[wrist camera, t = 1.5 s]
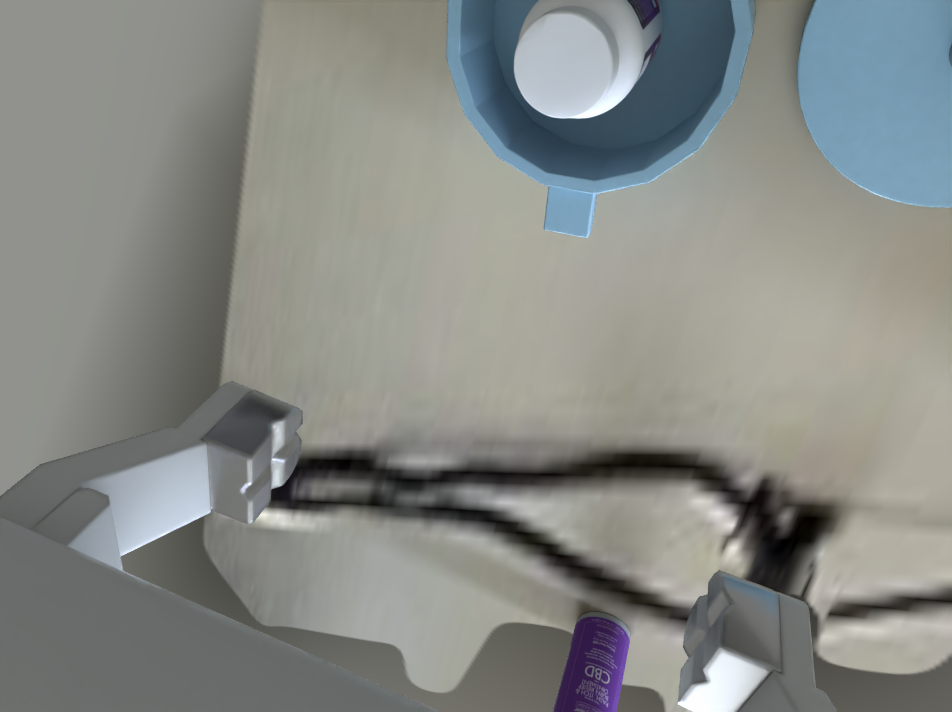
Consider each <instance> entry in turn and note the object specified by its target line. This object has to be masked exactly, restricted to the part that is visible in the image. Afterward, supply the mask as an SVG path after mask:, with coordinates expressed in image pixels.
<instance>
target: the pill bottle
mask: <svg viewBox="0 0 952 712" xmlns="http://www.w3.org/2000/svg"><path fill="white" fill-rule="evenodd" d="M662 29H663V16H662V10H661V6H660V3H659V0H539V1H538V2H537V3H536V4H535V5H534V6H533V8H532V9H531V10H530V12H529V14H528V15H527V17H526V19H525V21H524V23H523V26H522V28H521V31H520V35H519V40H518V44H517V47H516V50H515V55H514V74H515V79H516V82H517V85H518V88H519V90H520V92H521V94H522V95H523V97H524V98H525V100H526V101H527V102H528V103H529V104H530V105H531V106H532V107H533V108H534V109H536V110H537V111H539V112H541V113H543V114H545V115H547V116H550V117H554V118H589V117H594V116H597V115H600V114H602V113H604V112H606V111H608V110H610V109H611V108H613V107H614V106H616V105H617V104H618V103H619V102H621V101H622V100H623V99H624V98H625V97H626V96H627V94H628V93H629V92H630V91H631V90H632V88H633V86H634V85H635V84H636V82H637V81H638V80H639V78H640V77H641V75H642V74H643V72H644V71H645V69H646V68H647V66H648V65H649V63H650V62H651V60H652V59H653V57H654V55H655V53H656V51H657V49H658V46H659V43H660V40H661V35H662Z"/></svg>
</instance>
